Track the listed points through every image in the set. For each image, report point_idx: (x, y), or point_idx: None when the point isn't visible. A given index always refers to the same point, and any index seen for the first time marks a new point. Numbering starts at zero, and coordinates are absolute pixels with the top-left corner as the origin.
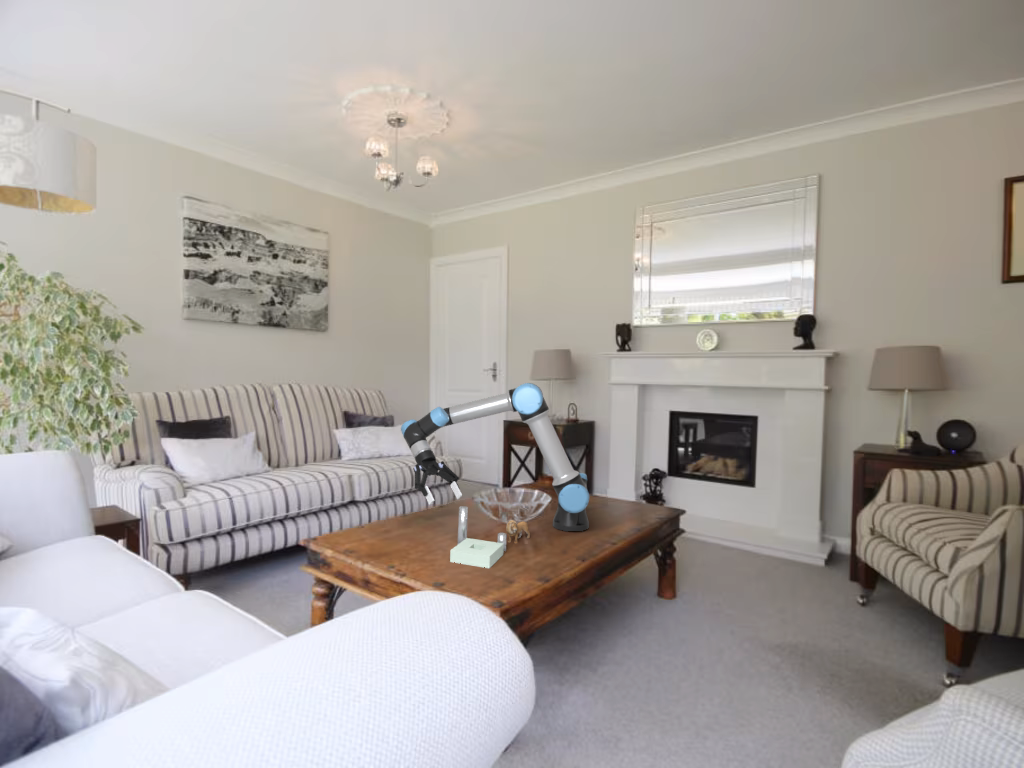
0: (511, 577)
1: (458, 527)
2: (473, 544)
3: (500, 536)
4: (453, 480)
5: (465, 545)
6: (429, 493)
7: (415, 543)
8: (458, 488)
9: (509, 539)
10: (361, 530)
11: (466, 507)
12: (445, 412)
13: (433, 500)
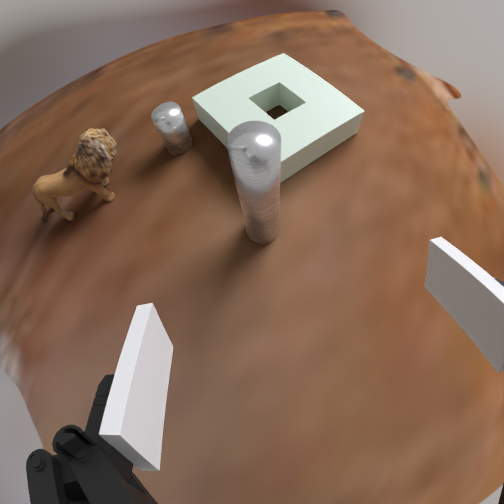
0: (266, 42)
1: (279, 202)
2: (277, 118)
3: (179, 107)
4: (107, 457)
5: (307, 118)
6: (480, 268)
7: (405, 320)
8: (124, 355)
9: (107, 193)
10: (474, 491)
11: (238, 133)
12: None
13: (436, 239)
